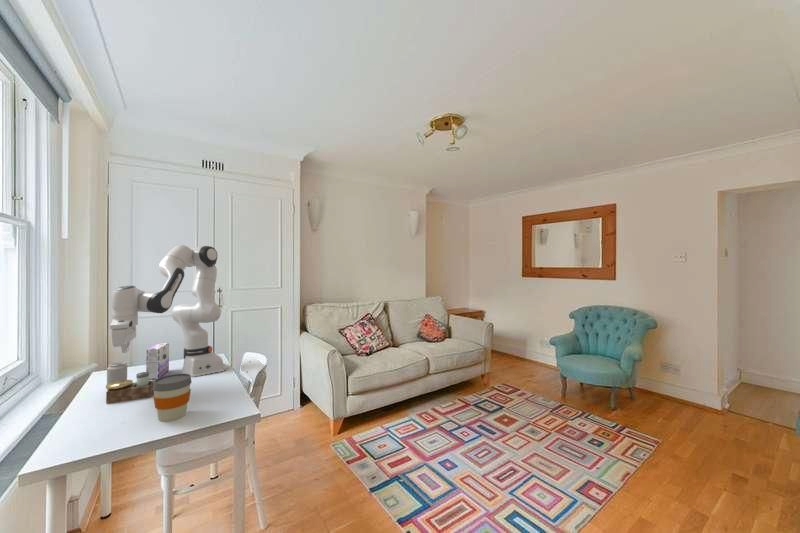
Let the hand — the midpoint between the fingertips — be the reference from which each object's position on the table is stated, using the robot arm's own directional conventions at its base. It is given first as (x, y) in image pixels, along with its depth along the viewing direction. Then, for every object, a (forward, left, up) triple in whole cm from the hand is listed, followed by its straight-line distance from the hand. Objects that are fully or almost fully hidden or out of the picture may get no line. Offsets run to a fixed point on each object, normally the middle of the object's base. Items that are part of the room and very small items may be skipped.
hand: (125, 352), depth 143 cm
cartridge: (-6, 0, -21) cm, 22 cm away
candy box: (-7, -30, -21) cm, 37 cm away
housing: (-3, 0, -21) cm, 21 cm away
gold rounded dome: (+2, 0, -20) cm, 20 cm away
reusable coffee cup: (-22, +32, -21) cm, 44 cm away
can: (+7, -17, -21) cm, 28 cm away
